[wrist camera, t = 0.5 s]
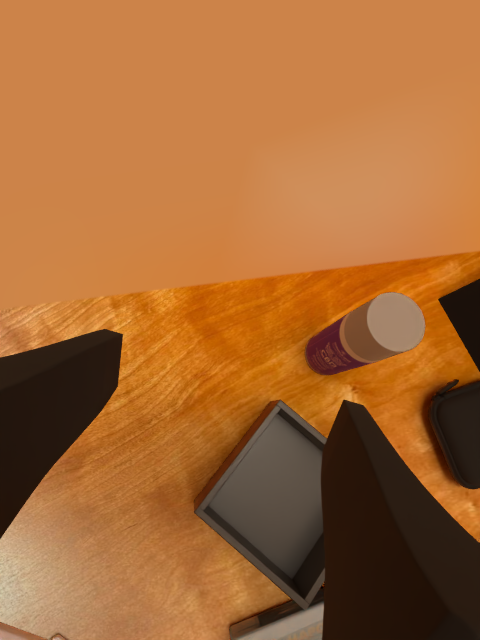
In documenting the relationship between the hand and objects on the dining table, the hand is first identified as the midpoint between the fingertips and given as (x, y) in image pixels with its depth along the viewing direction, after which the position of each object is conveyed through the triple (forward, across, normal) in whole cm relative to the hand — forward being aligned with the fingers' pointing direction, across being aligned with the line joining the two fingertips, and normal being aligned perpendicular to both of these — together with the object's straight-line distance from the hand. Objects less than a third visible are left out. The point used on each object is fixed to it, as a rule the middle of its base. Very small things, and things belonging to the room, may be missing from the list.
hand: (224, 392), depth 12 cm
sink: (+18, -6, +22) cm, 30 cm away
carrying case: (+29, -27, +14) cm, 42 cm away
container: (+28, -8, +12) cm, 31 cm away
